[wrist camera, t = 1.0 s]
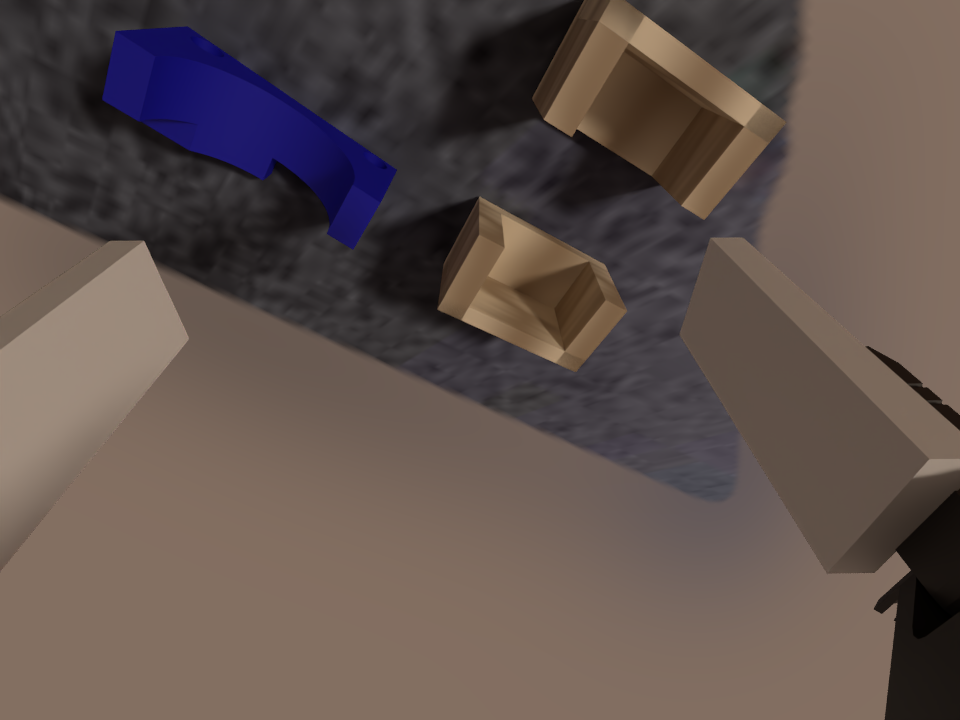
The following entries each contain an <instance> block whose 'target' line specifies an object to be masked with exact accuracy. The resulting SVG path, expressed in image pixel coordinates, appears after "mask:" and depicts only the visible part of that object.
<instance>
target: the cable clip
mask: <svg viewBox="0 0 960 720" xmlns="http://www.w3.org/2000/svg"><path fill="white" fill-rule="evenodd" d="M102 100H103V101H105V102H107V103H108V104H110V105H112V106H113V107H115V108H117V109H118V110H120V111H122V112H123V113H125V114H127V115H128V116H130V117H132V118H134V119H135V120H137V121H139V122H140V121H141V122H142V123H144V124H146V125H147V126H149V127H151V128H153V129H154V130H156V131H158V132H159V133H161V134H163V135H164V136H166V137H168V138H169V139H171V140H173V141H174V142H176V143H178V144H179V145H181V146H183V147H184V148H186V149H188V150H189V151H193V152H197V153H201V154H204V155H208V156H211V157H214V158H217V159H220V160H222V161H225V162H227V163H230V164H232V165H234V166H237V167H239V168H241V169H243V170H245V171H247V172H249V173H251V174H253V175H254V176H256V177H258V178H260V179H261V180H264V179H265V178H267V177H268V176H269V175H270V174H271V173H272V171H273V169H274V166H275V164H276V161H278V162H280V163H281V164H283V165H284V166H285V167H287V168H288V169H289V170H291V171H292V172H293V173H295V174H296V175H297V176H298V177H299V178H301V179H302V180H303V181H304V182H305V183H306V184H307V185H308V186H309V187H310V188H311V189H312V190H313V191H314V192H315V194H316V195H317V196H318V197H319V199H320V200H321V202H322V203H323V205H324V206H325V208H326V210H327V213H328V216H329V221H330V226H329V230H328V232H327V234H328V235H330V236H331V237H333V238H335V239H336V240H338V241H340V242H341V243H343V244H345V245H346V246H348V247H350V248H351V249H354V247H355V246H356V244H357V242H358V241H359V239H360V237H361V235H362V234H363V232H364V230H365V228H366V227H367V225H368V223H369V222H370V220H371V218H372V216H373V215H374V213H375V211H376V209H377V208H378V206H379V204H380V203H381V201H382V199H383V197H384V195H385V193H386V191H387V189H388V187H389V185H390V183H391V181H392V179H393V177H394V175H395V173H396V171H397V170H396V169H395V168H393V167H392V166H390V165H389V164H387V163H386V162H385V161H383V160H382V159H380V158H379V157H377V156H376V155H374V154H373V153H371V152H370V151H368V150H367V149H366V148H364V147H363V146H361V145H360V144H358V143H357V142H355V141H354V140H352V139H351V138H350V137H348V136H347V135H345V134H344V133H342V132H341V131H339V130H338V129H336V128H335V127H333V126H332V125H331V124H329V123H328V122H326V121H325V120H323V119H322V118H320V117H319V116H317V115H316V114H314V113H313V112H312V111H310V110H309V109H307V108H306V107H304V106H303V105H301V104H300V103H298V102H297V101H295V100H294V99H293V98H291V97H290V96H288V95H287V94H285V93H284V92H282V91H281V90H279V89H278V88H277V87H275V86H274V85H272V84H271V83H269V82H268V81H266V80H265V79H263V78H262V77H260V76H259V75H258V74H256V73H255V72H253V71H252V70H250V69H249V68H247V67H246V66H244V65H243V64H241V63H240V62H239V61H237V60H236V59H234V58H233V57H231V56H230V55H228V54H227V53H225V52H224V51H223V50H221V49H220V48H218V47H217V46H215V45H214V44H212V43H211V42H209V41H208V40H206V39H205V38H204V37H202V36H201V35H199V34H198V33H196V32H195V31H193V30H192V29H190V28H189V27H172V28H156V29H140V30H124V31H116V32H115V37H114V42H113V47H112V53H111V58H110V63H109V68H108V73H107V78H106V83H105V88H104V93H103V98H102Z"/></svg>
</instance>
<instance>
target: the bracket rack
mask: <svg viewBox="0 0 960 720" xmlns="http://www.w3.org/2000/svg"><path fill="white" fill-rule="evenodd" d="M532 100H533V102H534V103H535V105H536V107H537V109H538V110H539V112H540V114H541V116H542V117H543V119H544V120H545V121H547V122H548V123H550V124H551V125H553V126H555V127H556V128H558V129H559V130H561V131H563V132H564V133H566V134H568V135H569V136H571V137H572V136H573V134H574V133H575V131H576V129H578V130H579V131H581V132H583V133H584V134H586V135H587V136H589V137H590V138H592V139H594V140H595V141H597V142H598V143H600V144H602V145H603V146H605V147H606V148H608V149H609V150H611V151H613V152H614V153H616V154H617V155H619V156H621V157H622V158H624V159H625V160H627V161H628V162H630V163H632V164H633V165H635V166H636V167H638V168H640V169H641V170H643V171H644V172H646V173H647V174H649V175H651V176H652V177H653V178H654V179H655V180H656V181H657V182H658V183H659V184H660V185H661V186H662V187H663V188H664V189H665V190H666V191H667V192H668V193H669V194H670V195H671V196H672V197H673V198H674V199H675V200H676V201H677V202H678V203H679V204H680V205H681V206H683V207H684V208H686V209H688V210H689V211H691V212H693V213H694V214H696V215H697V216H699V217H701V218H702V219H705V218H706V217H707V216H708V215H709V213H710V212H711V211H712V210H713V209H714V208H715V206H716V205H717V204H718V203H719V202H720V200H721V199H722V198H723V197H724V196H725V195H726V193H727V192H728V191H729V190H730V189H731V187H732V186H733V185H734V184H735V183H736V181H737V180H738V179H739V178H740V177H741V176H742V174H743V173H744V172H745V171H746V170H747V168H748V167H749V166H750V165H751V164H752V163H753V161H754V160H755V159H756V158H757V157H758V155H759V154H760V153H761V152H762V151H763V149H764V148H765V147H766V146H767V145H768V144H769V142H770V141H771V140H772V139H773V138H774V136H775V135H776V134H777V133H778V132H779V131H780V129H781V128H782V127H783V126H784V125H785V123H786V122H785V121H784V120H783V119H781V118H780V117H779V116H777V115H776V114H775V113H773V112H772V111H771V110H769V109H768V108H767V107H765V106H764V105H763V104H761V103H760V102H759V101H757V100H756V99H755V98H754V97H752V96H751V95H750V94H748V93H747V92H746V91H744V90H743V89H742V88H740V87H739V86H738V85H736V84H735V83H734V82H732V81H731V80H730V79H728V78H727V77H726V76H724V75H723V74H722V73H720V72H719V71H718V70H716V69H715V68H714V67H712V66H711V65H710V64H708V63H707V62H706V61H704V60H703V59H702V58H700V57H699V56H698V55H696V54H695V53H694V52H693V51H691V50H690V49H689V48H687V47H686V46H685V45H683V44H682V43H681V42H679V41H678V40H677V39H675V38H674V37H673V36H671V35H670V34H669V33H667V32H666V31H665V30H663V29H662V28H661V27H659V26H658V25H657V24H655V23H654V22H653V21H651V20H650V19H649V18H647V17H646V16H645V15H643V14H642V13H641V12H639V11H638V10H637V9H635V8H634V7H633V6H632V5H630V4H629V3H628V2H626V1H625V0H584V1H583V3H582V5H581V7H580V9H579V11H578V13H577V15H576V16H575V18H574V20H573V22H572V24H571V26H570V28H569V30H568V31H567V33H566V35H565V37H564V39H563V41H562V43H561V44H560V46H559V48H558V50H557V52H556V54H555V56H554V58H553V59H552V61H551V63H550V65H549V67H548V69H547V71H546V73H545V74H544V76H543V78H542V80H541V82H540V84H539V86H538V88H537V89H536V91H535V93H534V95H533V97H532ZM437 310H439V311H442V312H444V313H446V314H448V315H450V316H453V317H455V318H457V319H459V320H462V321H464V322H466V323H468V324H470V325H473V326H475V327H477V328H479V329H481V330H484V331H486V332H488V333H490V334H492V335H495V336H497V337H499V338H501V339H504V340H506V341H508V342H510V343H512V344H515V345H517V346H519V347H521V348H523V349H526V350H528V351H530V352H532V353H534V354H537V355H539V356H541V357H543V358H546V359H548V360H550V361H552V362H554V363H557V364H559V365H561V366H563V367H565V368H568V369H570V370H572V371H574V372H576V371H577V370H578V369H579V368H580V366H581V365H582V364H583V363H584V362H585V360H586V359H587V358H588V357H589V356H590V355H591V353H592V352H593V351H594V350H595V349H596V347H597V346H598V345H599V344H600V343H601V341H602V340H603V339H604V338H605V337H606V336H607V334H608V333H609V332H610V331H611V330H612V328H613V327H614V326H615V325H616V324H617V323H618V321H619V320H620V319H621V318H622V317H623V315H624V314H625V313H626V312H627V310H626V308H625V306H624V304H623V302H622V300H621V298H620V295H619V293H618V291H617V289H616V287H615V285H614V283H613V281H612V279H611V277H610V275H609V273H608V271H607V269H606V266H605V265H604V264H603V263H601V262H599V261H597V260H595V259H593V258H591V257H590V256H588V255H586V254H584V253H582V252H580V251H579V250H577V249H575V248H573V247H571V246H569V245H568V244H566V243H564V242H562V241H560V240H558V239H557V238H555V237H553V236H551V235H549V234H547V233H545V232H544V231H542V230H540V229H538V228H536V227H534V226H533V225H531V224H529V223H527V222H525V221H523V220H522V219H520V218H518V217H516V216H514V215H512V214H510V213H509V212H507V211H505V210H503V209H501V208H499V207H498V206H496V205H494V204H492V203H490V202H488V201H487V200H485V199H483V198H481V197H479V198H478V200H477V202H476V204H475V206H474V207H473V209H472V211H471V213H470V215H469V217H468V219H467V221H466V222H465V224H464V226H463V228H462V230H461V232H460V234H459V236H458V237H457V239H456V241H455V243H454V245H453V247H452V249H451V251H450V252H449V254H448V256H447V258H446V260H445V262H444V265H443V272H442V279H441V286H440V294H439V301H438V308H437Z"/></svg>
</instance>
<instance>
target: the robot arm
mask: <svg viewBox="0 0 960 720" xmlns="http://www.w3.org/2000/svg"><path fill="white" fill-rule="evenodd" d="M680 336H681V338H682V339H683V341H684V343H685V344H686V346H687V348H688V349H689V351H690V352H691V354H692V356H693V357H694V359H695V361H696V362H697V364H698V365H699V367H700V369H701V370H702V372H703V373H704V375H705V377H706V378H707V380H708V382H709V383H710V385H711V386H712V388H713V390H714V391H715V393H716V395H717V396H718V398H719V399H720V401H721V403H722V404H723V406H724V407H725V409H726V411H727V412H728V414H729V416H730V417H731V419H732V420H733V422H734V424H735V425H736V427H737V429H738V430H739V432H740V433H741V435H742V437H743V438H744V440H745V441H746V442H747V445H748V446H749V448H750V450H751V451H752V453H753V454H754V456H755V458H756V459H757V461H758V462H759V464H760V466H761V467H762V469H763V471H764V472H765V474H766V475H767V477H768V479H769V480H770V482H771V483H772V485H773V487H774V488H775V490H776V491H777V493H778V495H779V496H780V498H781V500H782V501H783V503H784V504H785V506H786V508H787V509H788V511H789V513H790V514H791V516H792V518H793V519H794V521H795V522H796V524H797V526H798V527H799V529H800V530H801V532H802V534H803V535H804V537H805V539H806V540H807V542H808V543H809V545H810V547H811V548H812V550H813V551H814V553H815V554H816V556H817V558H818V560H819V561H820V563H821V565H822V566H823V568H824V569H825V571H826V572H827V573H875V572H876V571H877V570H878V569H879V568H880V567H881V566H882V565H883V564H884V563H885V562H886V561H887V560H888V559H889V558H890V557H891V556H892V555H893V554H894V553H895V552H896V551H897V552H898V554H899V555H900V556H901V558H902V559H903V560H904V561H905V563H906V564H907V565H908V567H909V568H910V569H911V571H910V572H909V573H908V574H907V575H906V576H904V577H903V578H902V579H901V580H900V581H899V582H898V583H897V584H895V585H894V586H893V587H892V588H891V589H890V590H889V591H888V592H887V593H886V594H884V595H883V596H882V597H881V598H880V599H879V600H878V602H877V604H876V606H875V607H874V610H876V611H878V612H880V613H881V614H882V613H883V612H885V611H886V610H887V609H888V608H889V607H890V606H891V605H893V604H894V603H898V605H897V614H896V618H895V619H894V621H896V623H895V632H894V641H893V650H892V659H891V668H890V677H889V686H888V695H887V704H886V713H885V720H960V415H959V414H958V413H956V412H955V411H954V410H953V409H952V408H951V407H949V406H948V405H943V404H942V400H941V399H940V398H939V397H938V396H937V395H935V394H934V393H933V392H932V391H931V390H930V389H929V388H927V387H926V388H923V387H922V383H921V382H920V381H919V380H918V379H917V378H916V377H914V376H913V375H912V374H911V373H910V372H909V371H908V370H906V369H905V368H904V367H903V366H902V365H900V364H899V363H898V362H896V361H894V360H892V359H890V358H889V357H887V356H885V355H883V354H881V353H880V352H878V351H876V350H874V349H872V348H870V347H869V346H864V345H863V344H862V343H861V342H859V341H858V340H857V339H856V338H855V337H854V336H853V335H852V334H850V333H849V332H848V331H847V330H846V329H845V328H844V327H843V326H841V325H840V324H839V323H838V322H837V321H836V320H835V319H834V318H832V317H831V316H830V315H829V314H828V313H827V312H826V311H825V310H824V309H822V308H821V307H820V306H819V305H818V304H817V303H816V302H815V301H813V300H812V299H811V298H810V297H809V296H808V295H807V294H806V293H804V292H803V291H802V290H801V289H800V288H799V287H798V286H797V285H795V284H794V283H793V282H792V281H791V280H790V279H789V278H788V277H786V276H785V275H784V274H783V273H782V272H781V271H780V270H779V269H777V268H776V267H775V266H774V265H773V264H772V263H771V262H769V261H768V260H767V259H766V258H765V257H764V256H763V255H762V254H761V253H760V252H758V251H757V250H756V249H755V248H754V247H753V246H752V245H751V244H749V243H748V242H747V241H746V240H745V239H744V238H710V241H709V244H708V247H707V250H706V254H705V257H704V260H703V263H702V266H701V269H700V272H699V275H698V279H697V282H696V285H695V288H694V291H693V294H692V297H691V300H690V303H689V307H688V310H687V313H686V316H685V319H684V322H683V325H682V328H681V332H680ZM188 340H189V337H188V335H187V333H186V331H185V328H184V326H183V324H182V322H181V320H180V318H179V315H178V313H177V311H176V309H175V307H174V305H173V303H172V300H171V298H170V296H169V294H168V292H167V289H166V287H165V285H164V283H163V281H162V279H161V276H160V275H159V272H158V270H157V268H156V266H155V264H154V261H153V259H152V257H151V255H150V253H149V251H148V248H147V246H146V244H145V242H144V241H109V242H108V243H106V244H105V245H104V246H102V247H101V248H99V249H98V250H96V251H95V252H93V253H92V254H91V255H89V256H88V257H86V258H85V259H83V260H82V261H81V262H79V263H78V264H76V265H75V266H73V267H72V268H70V269H69V270H67V271H66V272H64V273H63V274H62V275H60V276H59V277H57V278H56V279H54V280H53V281H51V282H50V283H48V284H47V285H45V286H44V287H43V288H41V289H40V290H38V291H37V292H35V293H34V294H32V295H31V296H29V297H28V298H27V299H25V300H24V301H22V302H21V303H19V304H18V305H17V306H15V307H13V308H12V309H11V310H9V311H8V312H6V313H5V314H3V315H2V316H0V571H1V570H2V569H3V567H4V566H5V565H6V564H7V563H8V561H9V560H10V559H11V558H12V556H13V555H14V554H15V553H16V552H17V550H18V549H19V548H20V547H21V545H22V544H23V543H24V542H25V540H26V539H27V538H28V537H29V535H30V534H31V533H32V532H33V531H34V529H35V528H36V527H37V526H38V524H39V523H40V522H41V521H42V520H43V518H44V517H45V516H46V515H47V513H48V512H49V511H50V510H51V508H52V507H53V506H54V504H56V502H57V501H58V500H59V499H60V497H61V496H62V495H63V493H64V492H65V491H66V490H67V489H68V488H69V486H70V485H71V484H72V483H73V481H74V480H75V479H76V478H77V476H78V475H79V474H80V473H81V471H82V470H83V469H84V468H85V467H86V465H87V464H88V463H89V462H90V460H91V459H92V458H93V457H94V456H95V454H96V453H97V452H98V451H99V449H100V448H101V447H102V446H103V444H104V443H105V442H106V441H107V439H108V438H109V437H110V436H111V435H112V433H113V432H114V431H115V429H116V428H117V427H118V426H119V425H120V423H121V422H122V421H123V419H124V418H125V417H126V416H127V415H128V414H129V412H130V411H131V410H132V409H133V407H134V406H135V405H136V404H137V402H138V401H139V400H140V399H141V397H142V396H143V395H144V394H145V393H146V391H147V390H148V389H149V388H150V386H151V385H152V384H153V383H154V381H155V380H156V379H157V378H158V376H159V375H160V374H161V373H162V372H163V371H164V369H165V368H166V367H167V366H168V364H169V363H170V362H171V361H172V359H173V358H174V357H175V356H176V354H177V353H178V352H179V351H180V350H181V348H182V347H183V346H184V345H185V343H186V342H187V341H188Z"/></svg>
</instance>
